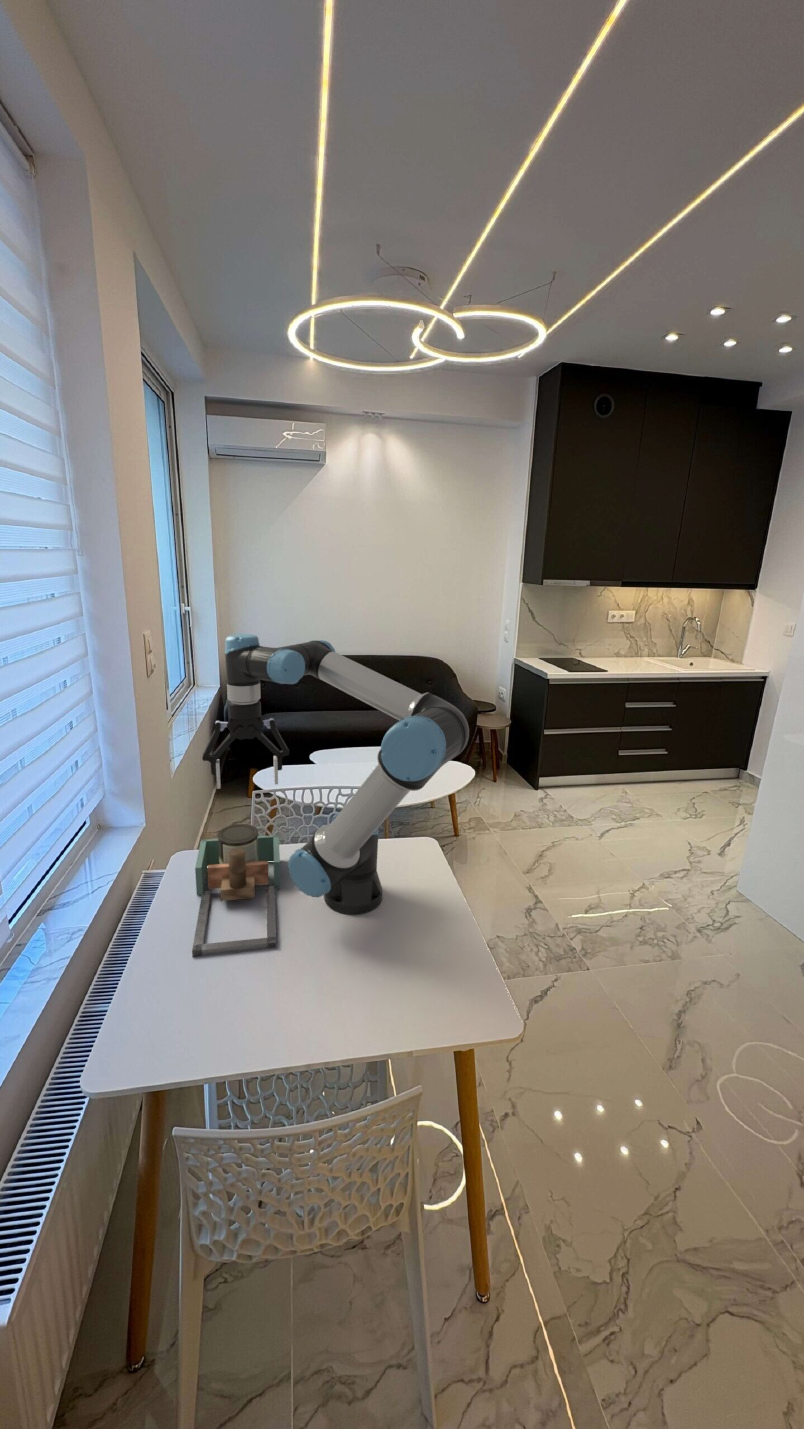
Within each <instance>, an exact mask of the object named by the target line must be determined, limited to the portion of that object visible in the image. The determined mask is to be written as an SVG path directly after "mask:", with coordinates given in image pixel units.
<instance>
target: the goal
mask: <svg viewBox="0 0 804 1429" xmlns="http://www.w3.org/2000/svg"><path fill="white" fill-rule="evenodd" d="M279 836H280V835H279V834H276V835H275V834H273V835H258V861H274V862H273V883H274V884H273V886H274V887H275V890H280V889H281V859H280V855H281V854H280V840H279V839H280V838H279ZM215 864H219V843H218V838H213V839H209V838H208V839H201V840H200V842H199V847H198V853H197V858H196V862H195V866H194V867H195V868H194V869H195V872H194V873H195V890H196V891H195V892H196V896H197V895H198V896H202V892H204V891H205V886H204V885H206V880H205V878H207V874H206V872H207V873H208V870H207V866H208V865H215Z"/></svg>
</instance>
